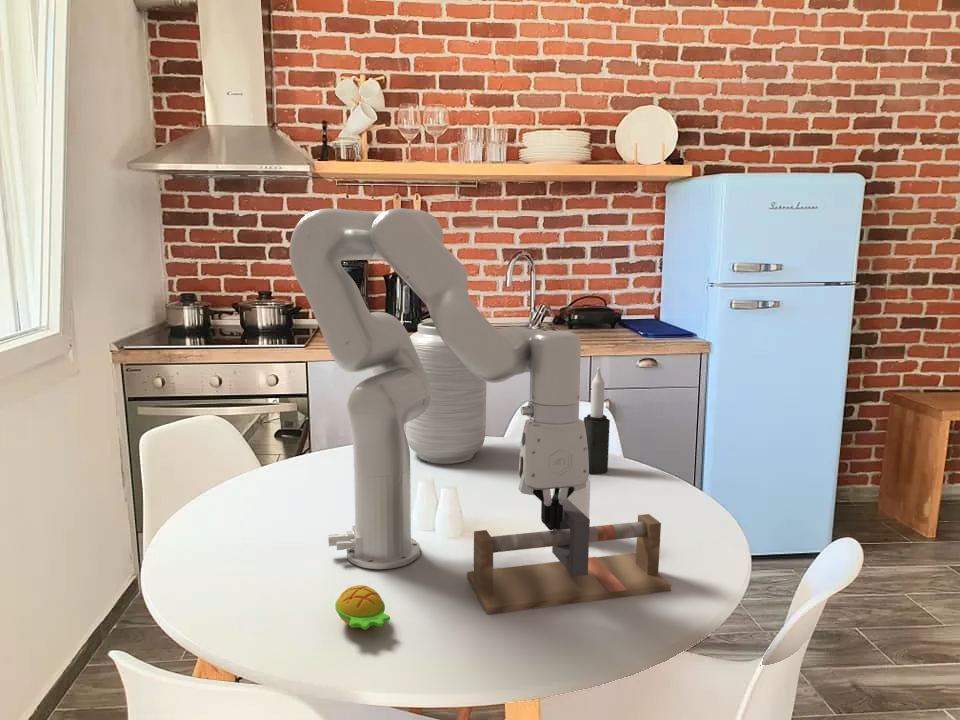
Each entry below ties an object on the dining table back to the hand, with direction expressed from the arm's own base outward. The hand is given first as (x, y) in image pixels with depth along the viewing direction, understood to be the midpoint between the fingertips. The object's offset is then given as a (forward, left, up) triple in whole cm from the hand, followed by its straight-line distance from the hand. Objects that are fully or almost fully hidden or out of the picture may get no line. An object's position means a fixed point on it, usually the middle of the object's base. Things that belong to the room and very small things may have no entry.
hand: (551, 526), depth 113 cm
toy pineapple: (-30, -5, -10) cm, 32 cm away
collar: (+3, 0, -7) cm, 7 cm away
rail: (+3, 0, -10) cm, 11 cm away
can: (+11, +18, -10) cm, 24 cm away
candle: (+31, +52, -10) cm, 61 cm away
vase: (-1, +72, -10) cm, 73 cm away
